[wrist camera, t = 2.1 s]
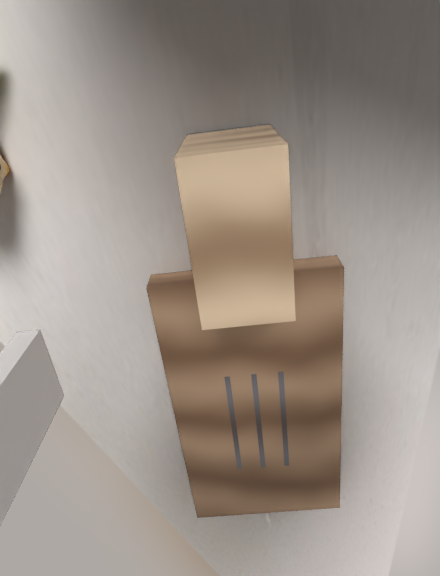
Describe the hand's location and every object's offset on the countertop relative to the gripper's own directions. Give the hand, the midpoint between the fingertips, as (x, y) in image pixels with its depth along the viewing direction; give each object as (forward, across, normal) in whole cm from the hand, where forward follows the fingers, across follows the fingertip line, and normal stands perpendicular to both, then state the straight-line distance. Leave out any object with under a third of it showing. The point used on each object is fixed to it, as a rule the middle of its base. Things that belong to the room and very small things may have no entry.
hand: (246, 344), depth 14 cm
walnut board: (+16, 0, -16) cm, 23 cm away
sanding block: (+16, 0, 0) cm, 16 cm away
